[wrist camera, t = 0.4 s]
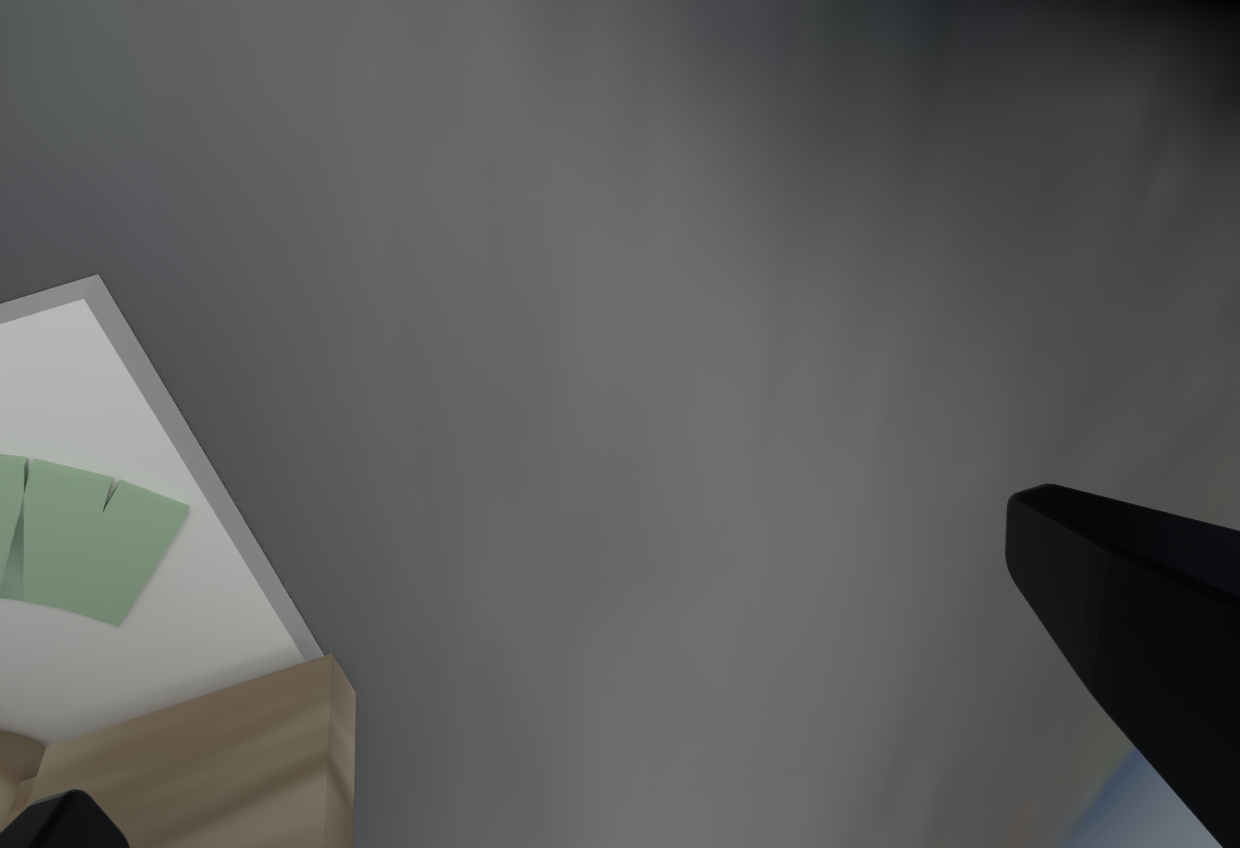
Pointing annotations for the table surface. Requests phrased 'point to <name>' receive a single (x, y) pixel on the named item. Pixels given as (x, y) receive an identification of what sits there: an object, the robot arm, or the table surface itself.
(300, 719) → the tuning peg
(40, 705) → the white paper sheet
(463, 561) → the table surface
